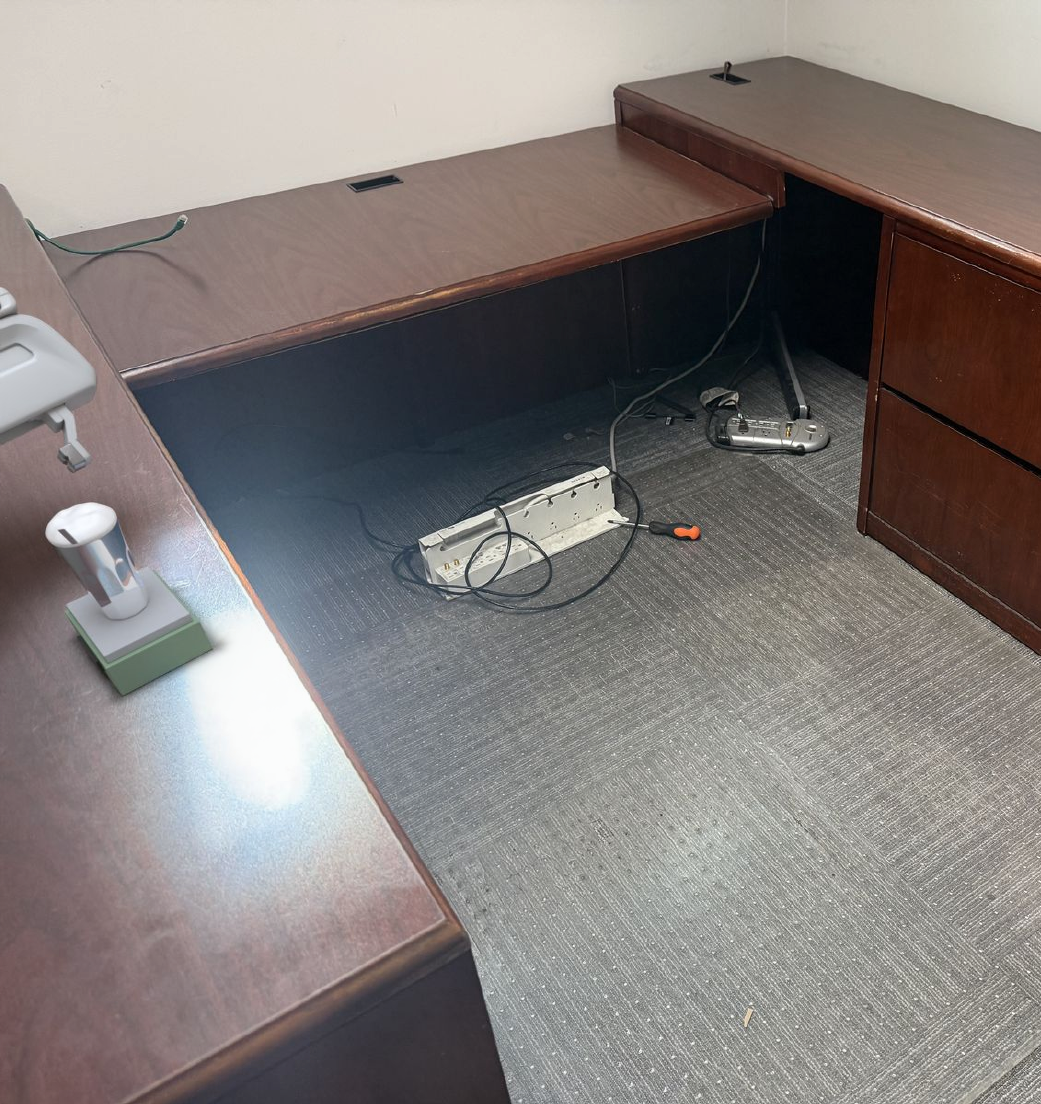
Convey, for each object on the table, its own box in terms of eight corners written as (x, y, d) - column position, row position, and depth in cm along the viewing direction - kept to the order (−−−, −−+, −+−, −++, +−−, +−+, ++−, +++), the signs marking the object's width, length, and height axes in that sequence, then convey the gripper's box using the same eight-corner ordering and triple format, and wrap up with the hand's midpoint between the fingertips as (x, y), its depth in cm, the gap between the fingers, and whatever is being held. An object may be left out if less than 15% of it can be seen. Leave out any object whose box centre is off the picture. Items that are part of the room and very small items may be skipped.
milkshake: (86, 639, 75) (24, 535, 69) (100, 593, 79) (41, 491, 73) (152, 626, 76) (96, 523, 70) (161, 581, 80) (110, 480, 74)
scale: (119, 698, 76) (97, 663, 74) (77, 639, 81) (56, 605, 78) (213, 648, 80) (195, 613, 77) (167, 595, 85) (150, 561, 82)
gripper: (-284, 398, 66) (-124, 561, 68) (23, 278, 79) (149, 418, 81) (-269, 436, 70) (-120, 587, 73) (19, 317, 83) (138, 448, 86)
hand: (24, 497), depth 77 cm, fingers open, 8 cm apart
